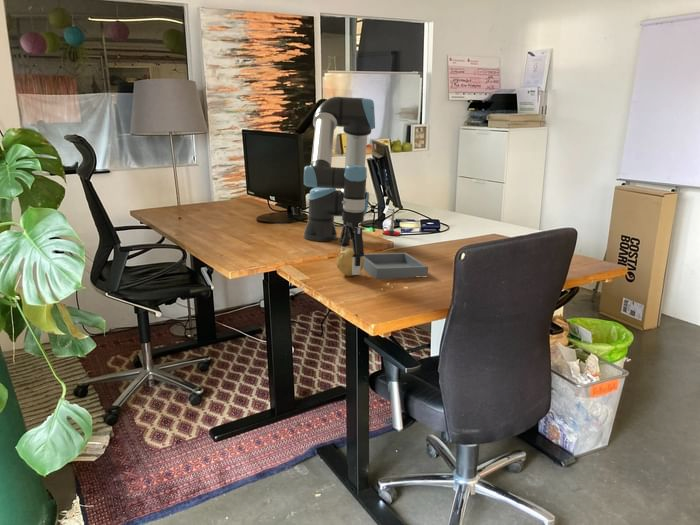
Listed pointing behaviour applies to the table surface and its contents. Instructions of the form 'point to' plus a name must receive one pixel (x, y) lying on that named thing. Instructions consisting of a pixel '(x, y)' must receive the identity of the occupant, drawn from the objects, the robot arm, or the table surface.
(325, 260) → the table surface
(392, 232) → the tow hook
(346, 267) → the stress ball
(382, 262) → the tray
